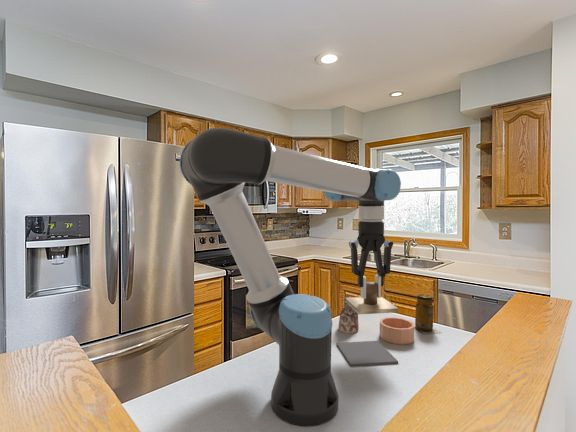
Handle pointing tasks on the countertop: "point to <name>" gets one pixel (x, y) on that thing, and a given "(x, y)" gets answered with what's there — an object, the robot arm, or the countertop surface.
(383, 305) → the lid
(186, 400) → the countertop surface
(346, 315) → the figurine
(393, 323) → the bowl
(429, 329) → the condiment
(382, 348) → the mat
